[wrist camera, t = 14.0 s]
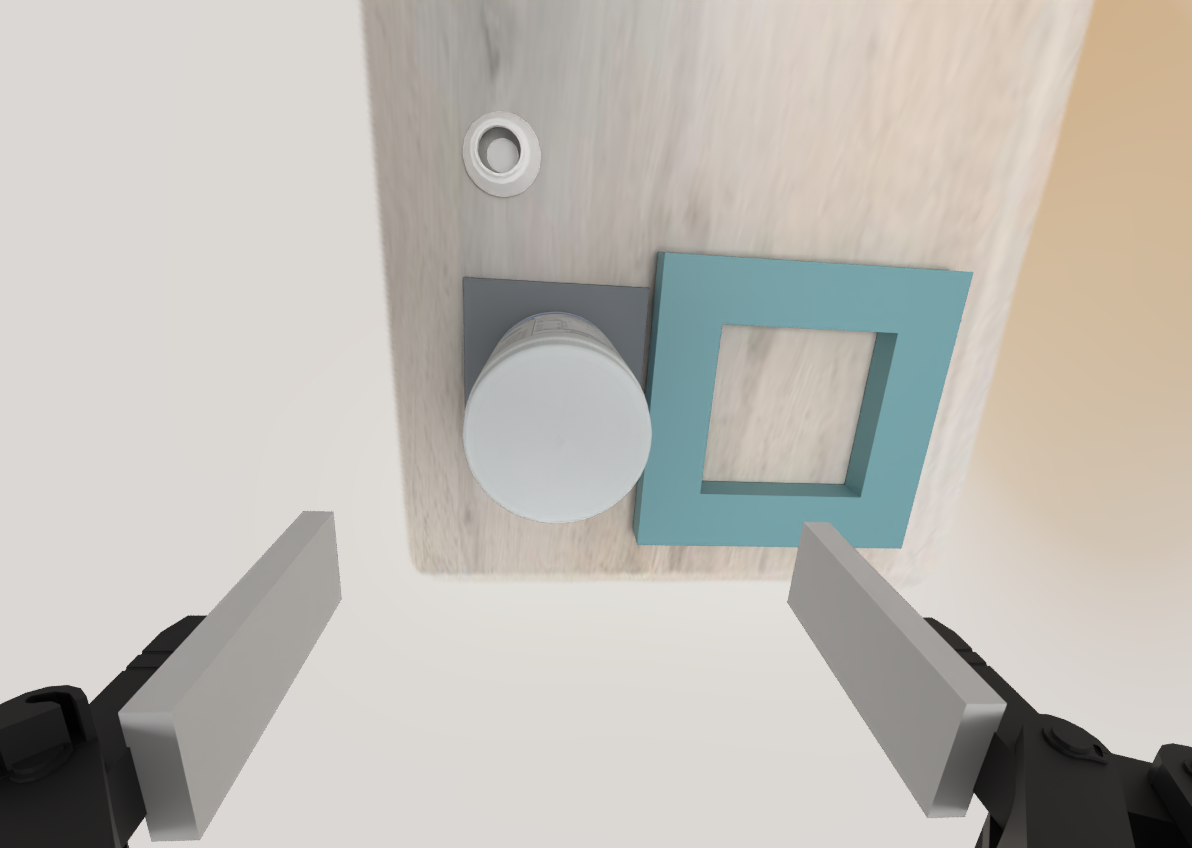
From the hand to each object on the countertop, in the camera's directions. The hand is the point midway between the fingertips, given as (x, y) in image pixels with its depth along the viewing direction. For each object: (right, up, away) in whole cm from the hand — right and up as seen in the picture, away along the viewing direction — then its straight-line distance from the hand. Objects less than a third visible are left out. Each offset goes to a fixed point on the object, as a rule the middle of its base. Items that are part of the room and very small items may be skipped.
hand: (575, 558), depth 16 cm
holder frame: (+15, +5, +28) cm, 32 cm away
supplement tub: (-2, +8, +25) cm, 26 cm away
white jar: (-6, +22, +21) cm, 31 cm away
